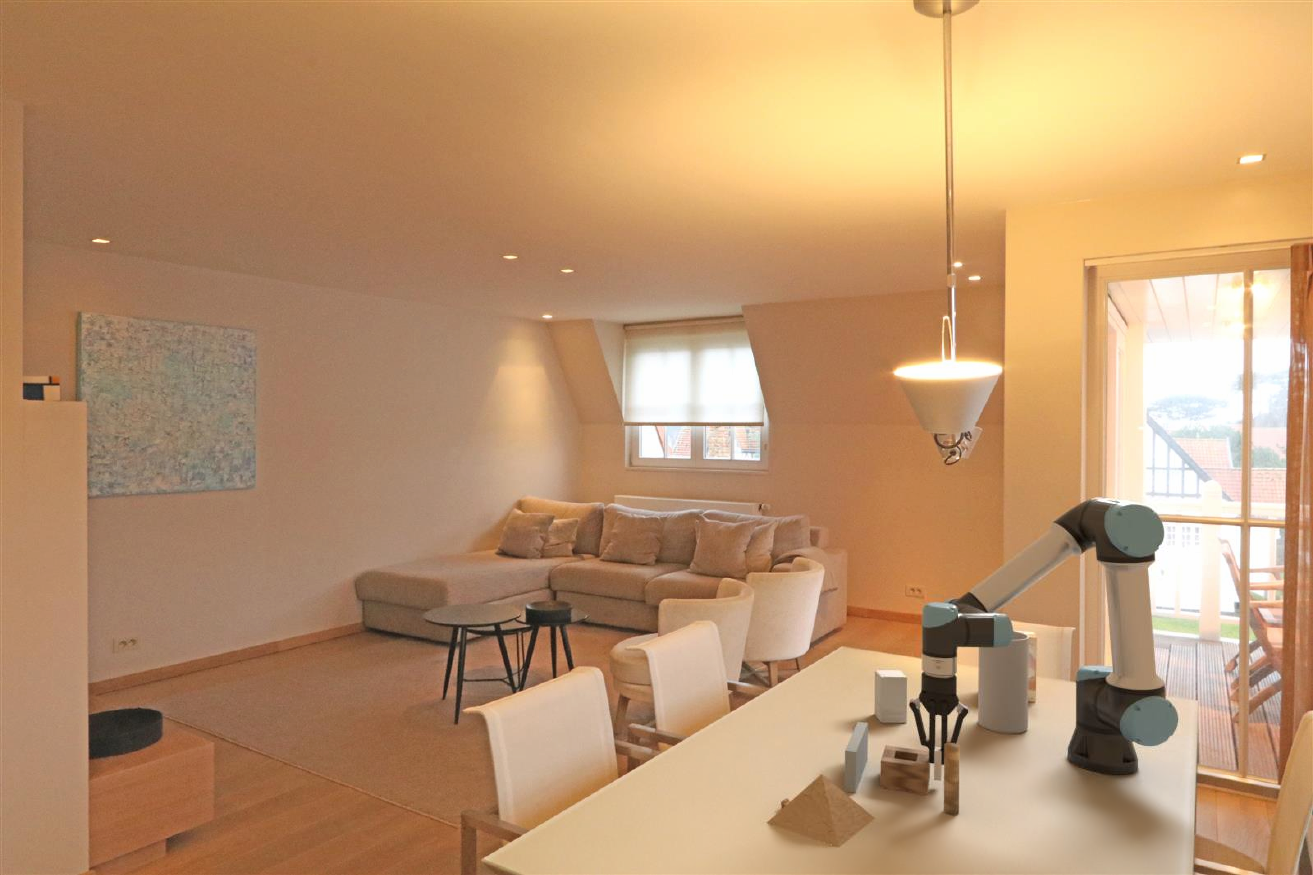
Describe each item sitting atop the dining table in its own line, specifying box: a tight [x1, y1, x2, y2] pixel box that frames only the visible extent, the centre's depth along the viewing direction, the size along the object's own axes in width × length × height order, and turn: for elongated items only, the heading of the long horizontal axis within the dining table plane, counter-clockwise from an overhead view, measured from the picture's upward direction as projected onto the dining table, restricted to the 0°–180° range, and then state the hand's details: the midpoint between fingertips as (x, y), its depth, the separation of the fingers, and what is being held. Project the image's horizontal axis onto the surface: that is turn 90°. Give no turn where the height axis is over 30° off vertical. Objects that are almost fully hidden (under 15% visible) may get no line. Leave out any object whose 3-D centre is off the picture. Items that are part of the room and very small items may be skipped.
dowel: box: [943, 743, 960, 816], centre depth 178 cm, size 3×3×14 cm
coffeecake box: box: [1016, 630, 1038, 703], centre depth 256 cm, size 15×7×20 cm, turn 73°
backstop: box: [844, 721, 869, 794], centre depth 197 cm, size 2×20×9 cm, turn 159°
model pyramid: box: [766, 773, 876, 848], centre depth 174 cm, size 17×17×10 cm
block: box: [880, 744, 931, 795], centre depth 193 cm, size 10×10×6 cm
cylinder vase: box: [977, 630, 1029, 735], centre depth 230 cm, size 12×12×25 cm
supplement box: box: [874, 669, 908, 724], centre depth 236 cm, size 7×7×13 cm
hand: (937, 778), depth 190 cm, fingers closed
